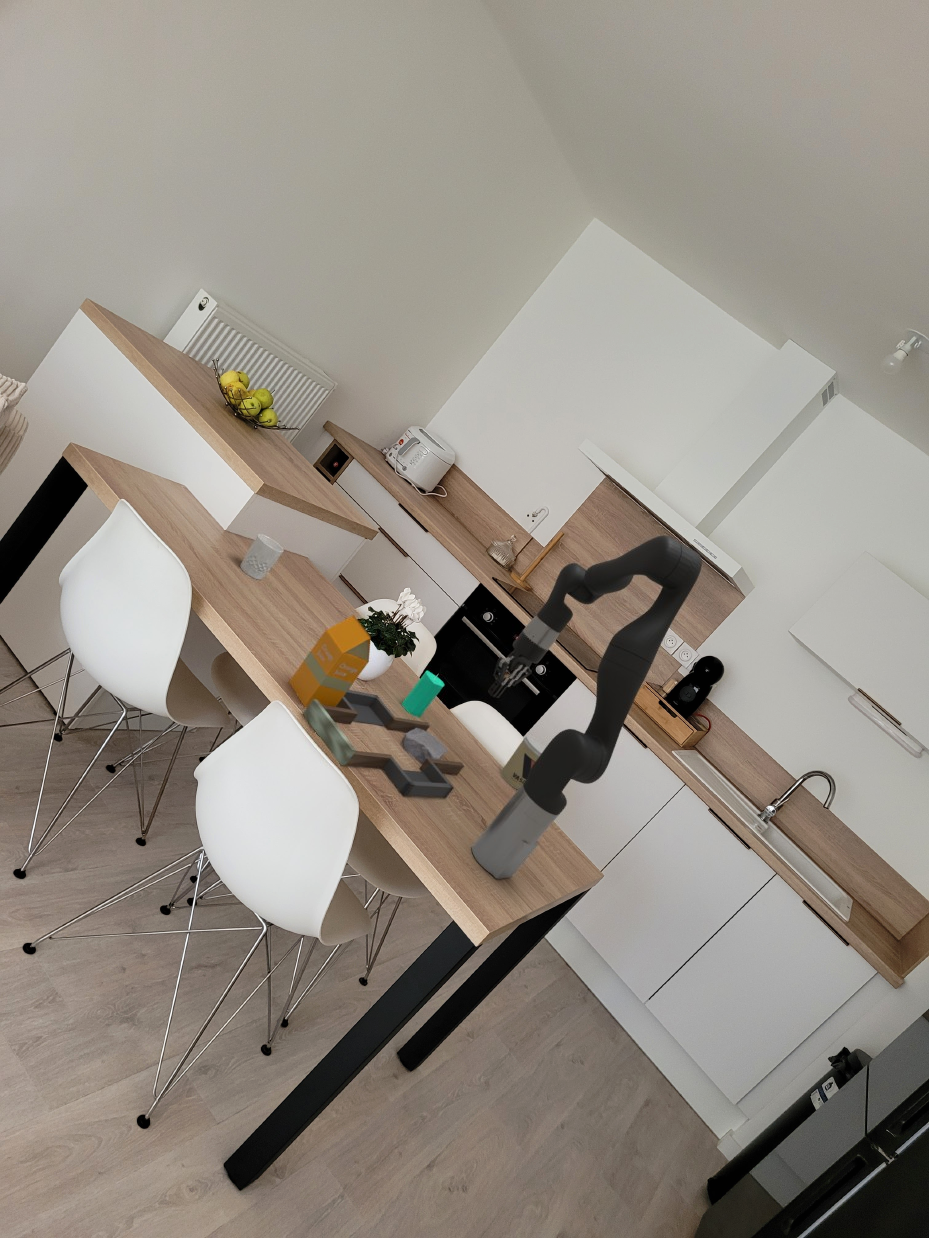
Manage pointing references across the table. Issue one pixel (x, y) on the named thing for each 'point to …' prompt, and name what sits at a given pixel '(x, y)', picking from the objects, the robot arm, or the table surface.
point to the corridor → (344, 751)
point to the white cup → (261, 556)
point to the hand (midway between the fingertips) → (492, 694)
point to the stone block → (422, 745)
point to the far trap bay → (366, 708)
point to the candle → (422, 694)
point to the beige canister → (522, 761)
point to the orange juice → (333, 664)
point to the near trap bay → (418, 780)
